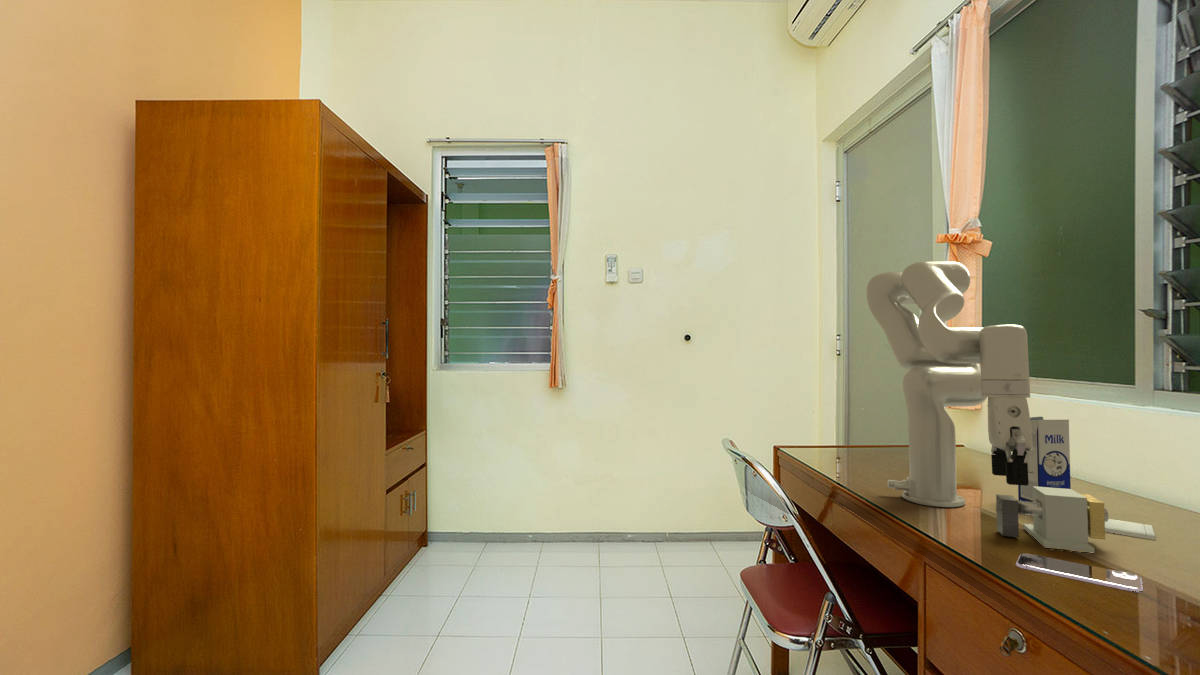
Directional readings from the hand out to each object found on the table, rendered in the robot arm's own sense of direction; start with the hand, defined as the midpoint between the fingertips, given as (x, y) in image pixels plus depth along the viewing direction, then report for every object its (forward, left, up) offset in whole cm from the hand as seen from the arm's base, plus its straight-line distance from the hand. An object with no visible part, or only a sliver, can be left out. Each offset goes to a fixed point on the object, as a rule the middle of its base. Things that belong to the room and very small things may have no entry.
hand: (1009, 479), depth 105 cm
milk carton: (+14, +30, -11) cm, 35 cm away
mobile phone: (+5, -16, -11) cm, 20 cm away
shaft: (+6, +1, -10) cm, 12 cm away
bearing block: (+8, +1, -11) cm, 13 cm away
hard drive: (+20, +14, -12) cm, 27 cm away
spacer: (+12, +1, -9) cm, 15 cm away
